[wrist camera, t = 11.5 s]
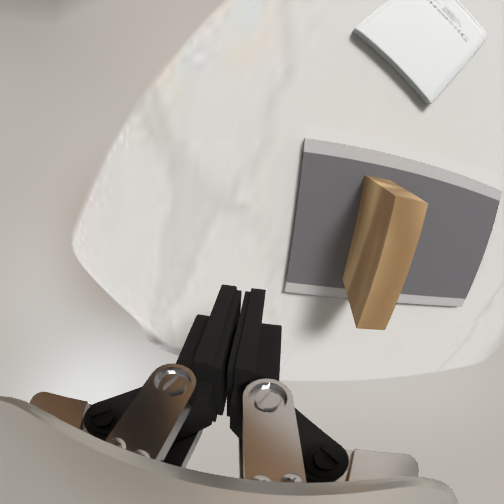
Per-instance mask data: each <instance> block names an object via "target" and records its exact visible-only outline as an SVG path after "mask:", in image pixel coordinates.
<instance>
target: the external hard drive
mask: <svg viewBox="0 0 504 504" xmlns="http://www.w3.org/2000/svg"><path fill="white" fill-rule="evenodd" d="M353 33H355V34H356V35H357V36H358V37H360V38H361V39H362V40H363V41H364V42H366V43H367V44H368V45H369V46H370V47H371V48H372V49H374V50H375V51H376V52H377V53H378V54H379V55H380V56H381V57H382V58H383V59H384V60H386V61H387V62H388V63H389V64H390V65H391V66H392V67H393V68H394V69H395V70H396V71H397V72H398V73H399V74H400V75H401V76H402V78H403V79H404V80H405V81H406V82H407V83H408V84H409V85H410V86H411V87H412V88H413V90H414V91H415V92H416V93H417V94H418V95H419V96H420V98H421V99H422V100H423V101H424V102H425V104H431V103H432V102H433V101H434V100H435V99H436V98H437V96H438V95H439V94H440V93H441V92H442V91H443V90H444V88H445V87H446V86H447V85H448V84H449V83H450V82H451V80H452V79H453V78H454V77H455V76H456V75H457V73H458V72H459V71H460V70H461V69H462V68H463V66H464V65H465V64H466V63H467V62H468V61H469V59H470V58H471V57H472V56H473V55H474V53H475V52H476V51H477V50H478V49H479V47H480V46H481V45H482V44H483V42H484V41H485V40H486V39H487V38H488V35H487V33H486V32H485V31H484V29H483V28H482V27H481V26H480V24H479V23H478V22H477V21H476V20H475V18H474V17H473V16H472V15H471V14H470V13H469V12H468V11H467V9H466V8H465V7H464V6H463V5H462V4H461V3H460V2H459V1H458V0H387V1H386V2H385V3H384V4H382V5H381V6H380V7H379V8H377V9H376V10H375V11H374V12H373V13H371V14H370V15H369V16H368V17H367V18H366V19H364V20H363V21H362V22H361V23H360V24H359V25H358V26H357V27H355V28H354V30H353Z"/></svg>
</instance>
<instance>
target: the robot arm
mask: <svg viewBox="0 0 504 504" xmlns="http://www.w3.org/2000/svg"><path fill="white" fill-rule="evenodd" d="M265 291H266V290H262V289H253V288H252V289H251V292H247V291H246V292H245V296H244V300H243V304H242V308H241V291H239V290H237V287H236V286H230V285H222V286H221V289H220V291H219V294H218V296H217V299H216V302H215V304H214V307H213V310H212V312H211V315H210V316H205V315H199V314H198V315H197V316H196V318H195V321H194V323H193V325H192V327H191V330H190V332H189V334H188V337H187V339H186V341H185V344H184V346H183V348H182V351H181V353H180V355H179V358H178V360H177V362H176V364H166V365H162V366H161V367H159V368H157V369H156V370H155V371H154V372H153V373H152V374H151V376H150V377H149V378H148V380H147V381H146V382H145V384H144V385H143V387H141V388H138V389H135V390H132V391H129V392H126V393H124V394H121V395H118V396H115V397H112V398H109V399H107V400H104V401H101V402H97V403H95V404H93V405H91V404H88V402H87V401H82V400H77V399H73V398H68V397H64V396H60V395H56V394H52V393H48V392H40V393H37V394H36V395H34V396H33V398H32V399H31V401H30V403H28V402H25V401H22V400H19V399H16V398H12V397H4V396H0V504H458V500H457V498H456V496H455V494H454V492H453V490H452V489H451V488H450V487H449V486H448V485H447V484H445V483H443V482H441V481H438V480H435V479H430V478H425V477H418V473H419V468H418V463H417V461H416V460H415V458H414V457H412V456H411V455H408V454H402V453H401V454H400V453H388V452H376V451H367V450H360V449H355V450H354V451H351V450H345V449H344V448H343V447H342V446H341V445H339V444H338V443H337V442H336V441H334V440H333V439H332V438H330V437H329V436H328V435H327V434H325V433H324V432H323V431H322V430H321V429H319V428H318V427H317V426H316V425H314V424H313V423H312V422H311V421H310V420H308V419H307V418H306V417H305V416H304V415H303V414H301V413H300V412H299V411H298V410H297V409H296V408H295V407H294V402H293V396H292V394H291V391H290V390H289V388H288V387H287V386H286V385H284V384H283V383H282V382H280V381H279V372H280V353H281V330H282V327H281V326H280V325H271V324H263V323H262V316H263V308H264V299H265ZM240 309H241V313H240ZM226 398H227V416H230V429H231V430H232V431H233V432H234V433H235V434H236V435H237V436H238V438H239V478H233V477H226V476H220V475H214V474H209V473H204V472H199V471H195V470H190V469H186V468H185V467H186V465H187V463H188V461H189V459H190V457H191V455H192V453H193V451H194V449H195V447H196V444H197V443H198V440H199V438H200V436H201V434H202V431H203V429H204V428H206V427H208V426H210V425H211V424H212V421H214V422H215V421H216V418H217V414H218V415H223V411H224V407H225V403H226Z"/></svg>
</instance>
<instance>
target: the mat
mask: <svg viewBox="0 0 504 504" xmlns="http://www.w3.org/2000/svg"><path fill="white" fill-rule="evenodd" d="M365 175H366V176H371V177H376V178H381V179H386V180H390V181H392V182H394V183H396V184H397V185H399V186H401V187H402V188H404V189H406V190H407V191H409V192H411V193H412V194H414V195H416V196H417V197H419V198H420V199H422V200H423V201H425V202H427V203H428V207H427V211H426V215H425V219H424V222H423V226H422V230H421V233H420V237H419V240H418V244H417V247H416V250H415V253H414V256H413V259H412V262H411V265H410V268H409V271H408V274H407V277H406V280H405V282H404V285H403V288H402V290H401V293H400V295H399V298H398V301H397V303H409V304H425V305H442V306H462V305H463V303H464V301H465V299H466V297H467V294H468V292H469V290H470V288H471V285H472V283H473V281H474V278H475V276H476V273H477V271H478V268H479V266H480V263H481V260H482V258H483V255H484V252H485V249H486V246H487V243H488V240H489V237H490V234H491V231H492V227H493V224H494V220H495V217H496V213H497V209H498V205H499V201H500V196H501V192H502V191H500V190H498V189H496V188H493V187H491V186H488V185H486V184H484V183H481V182H478V181H476V180H473V179H470V178H468V177H465V176H462V175H459V174H457V173H454V172H451V171H448V170H445V169H441V168H438V167H435V166H432V165H429V164H425V163H422V162H418V161H415V160H411V159H407V158H403V157H400V156H396V155H392V154H387V153H383V152H379V151H374V150H370V149H365V148H360V147H355V146H350V145H345V144H339V143H333V142H327V141H321V140H314V139H307V138H305V140H304V150H303V159H302V168H301V176H300V185H299V193H298V201H297V208H296V216H295V223H294V230H293V238H292V245H291V251H290V258H289V265H288V271H287V277H286V284H285V292H291V293H300V294H309V295H318V296H328V297H338V298H348V296H347V292H346V289H345V286H344V282H343V279H342V278H343V274H344V271H345V267H346V263H347V259H348V255H349V251H350V246H351V242H352V238H353V233H354V229H355V224H356V219H357V215H358V210H359V205H360V199H361V194H362V188H363V183H364V177H365Z"/></svg>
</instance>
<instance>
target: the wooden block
mask: <svg viewBox="0 0 504 504" xmlns="http://www.w3.org/2000/svg"><path fill="white" fill-rule="evenodd" d="M427 207H428V203H427V202H425V201H423V200H422V199H420V198H419V197H417V196H416V195H414V194H412V193H411V192H409V191H407V190H406V189H404V188H402V187H401V186H399V185H397V184H396V183H394V182H392V181H390V180H386V179H381V178H376V177H371V176H366V175H365V177H364V183H363V188H362V194H361V199H360V205H359V210H358V215H357V219H356V224H355V229H354V233H353V238H352V242H351V246H350V251H349V255H348V259H347V263H346V267H345V271H344V274H343V278H342V279H343V282H344V286H345V289H346V292H347V296H348V299H349V303H350V306H351V310H352V313H353V317H354V321H355V325H356V328H360V329H378V330H385V329H386V326H387V324H388V322H389V320H390V317H391V315H392V313H393V310H394V308H395V305H396V303H397V301H398V298H399V295H400V293H401V290H402V288H403V285H404V282H405V280H406V277H407V274H408V271H409V268H410V265H411V262H412V259H413V256H414V253H415V250H416V247H417V244H418V240H419V237H420V233H421V230H422V226H423V222H424V219H425V215H426V211H427Z"/></svg>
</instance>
